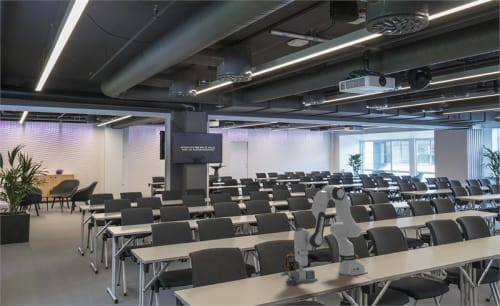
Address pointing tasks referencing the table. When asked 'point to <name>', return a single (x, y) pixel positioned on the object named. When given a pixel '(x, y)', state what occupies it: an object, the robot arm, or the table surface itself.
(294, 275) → the blue-grey dumbbell
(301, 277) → the module
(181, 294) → the table surface
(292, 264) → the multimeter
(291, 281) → the relay
